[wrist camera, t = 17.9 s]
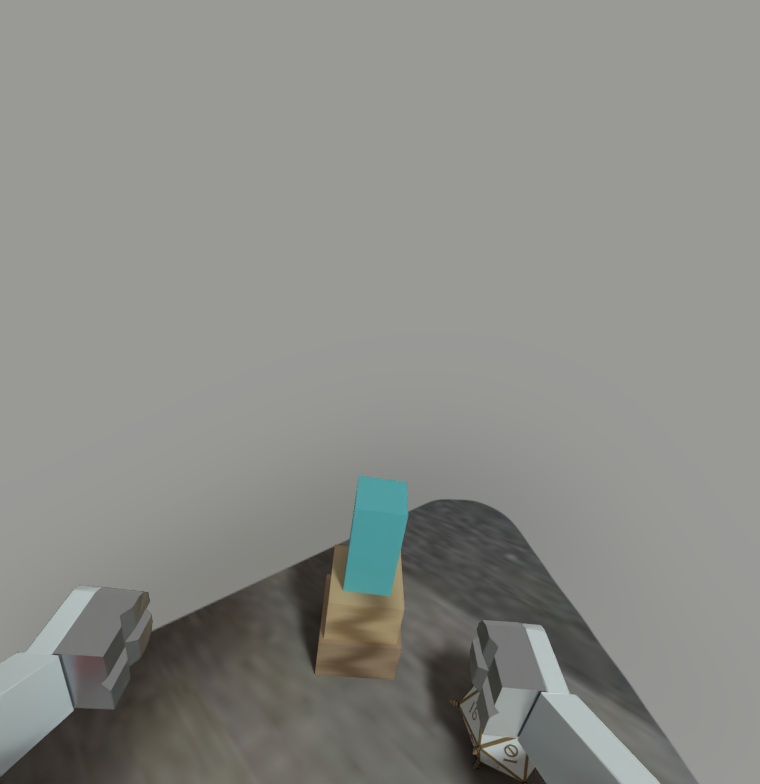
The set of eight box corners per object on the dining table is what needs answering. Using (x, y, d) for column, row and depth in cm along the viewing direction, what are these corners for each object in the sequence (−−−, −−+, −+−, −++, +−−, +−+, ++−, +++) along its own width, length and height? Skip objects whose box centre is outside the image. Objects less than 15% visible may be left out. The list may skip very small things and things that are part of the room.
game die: (489, 745, 42) (545, 659, 42) (537, 842, 34) (607, 734, 34) (419, 708, 40) (478, 619, 40) (452, 801, 32) (526, 687, 32)
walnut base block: (314, 675, 42) (318, 642, 40) (322, 604, 49) (326, 574, 47) (393, 680, 43) (401, 648, 41) (390, 610, 50) (397, 580, 48)
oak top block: (323, 638, 40) (328, 602, 38) (330, 578, 47) (335, 544, 45) (395, 644, 41) (404, 609, 39) (393, 584, 47) (400, 551, 45)
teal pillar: (343, 590, 40) (355, 508, 35) (347, 553, 44) (358, 475, 40) (390, 596, 40) (408, 515, 36) (390, 558, 44) (406, 481, 40)
